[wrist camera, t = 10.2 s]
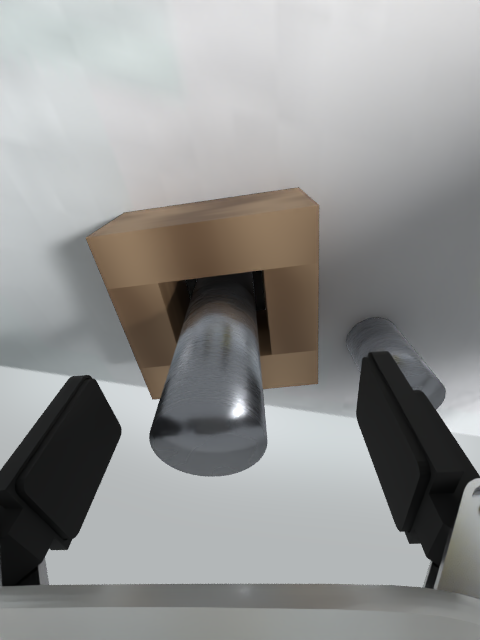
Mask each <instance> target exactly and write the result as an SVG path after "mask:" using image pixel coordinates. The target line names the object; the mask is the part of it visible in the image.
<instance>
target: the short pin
mask: <svg viewBox="0 0 480 640" xmlns="http://www.w3.org/2000/svg"><path fill="white" fill-rule="evenodd" d="M347 347H348V350H349V352H350V354H351V356H352V358H353V359H354V361H355V363H356V365H357V367H358V369H359V371H360V373H361V365H362V358H363V357H367V356H368V353H369V352H378V351H388V352H389V353H390V354H391V355H392V357H393V359H394V360H395V362H396V363H397V365H398V367H399V368H400V370H401V371H402V373H403V375H404V376H405V378H406V379H407V381H408V382H409V384H410V386H411V387H412V389H413V390H421V391H422V392H424V394H425V395H426V396H427V398H428V399H429V401H430V402H431V404H432V405H433V407H434V408H435V410H436V409H437V408H438V407H439V406H440V405H441V404H442V402H443V401H444V398H445V393H446V391H445V388H444V386H443V384H442V383H441V382H440V381H439V379H438V378H437V377H436V376H435V374H434V373H433V372H432V371H431V369H430V368H429V367H428V366H427V365H426V363H425V362H424V361H423V360H422V358H421V357H420V356H419V355H418V354H417V352H416V351H415V350H414V349H413V347H412V346H411V345H410V344H409V342H408V341H407V340H406V339H405V338H404V336H403V335H402V334H401V333H400V331H399V330H398V329H397V328H396V326H395V325H394V324H393V323H392V322H391V321H389V320H387V319H384V318H370V319H367V320H364V321H362V322H360V323H358V324H357V325H356V326H354V327H353V328H352V330H351V331H350V332H349V334H348V337H347Z"/></svg>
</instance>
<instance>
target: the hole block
mask: <svg viewBox="0 0 480 640" xmlns="http://www.w3.org/2000/svg"><path fill="white" fill-rule="evenodd" d="M86 240H87V243H88V245H89V247H90V250H91V252H92V255H93V257H94V259H95V262H96V264H97V267H98V269H99V271H100V274H101V276H102V279H103V281H104V284H105V286H106V288H107V291H108V293H109V296H110V298H111V300H112V303H113V305H114V308H115V310H116V312H117V315H118V317H119V320H120V322H121V325H122V327H123V329H124V332H125V334H126V337H127V339H128V341H129V344H130V346H131V349H132V351H133V354H134V356H135V358H136V361H137V363H138V366H139V368H140V370H141V373H142V375H143V378H144V380H145V382H146V385H147V387H148V390H149V392H150V395H151V397H152V399H160V398H161V394H162V391H163V388H164V385H165V381H166V378H167V375H168V372H169V368H170V365H171V362H172V359H173V355H174V352H175V349H176V346H177V342H178V339H179V336H180V333H181V329H182V326H183V323H184V320H185V316H186V313H187V310H188V307H189V303H190V296H189V293H188V289H187V285H186V281H185V280H187V279H195V278H203V277H211V276H219V275H227V274H235V273H243V272H251V271H259V270H262V279H263V289H264V299H265V308H266V310H257V311H256V317H257V328H258V340H259V351H260V363H261V374H262V386H263V389H269V388H279V387H290V386H300V385H311V384H318V294H319V205H318V204H317V203H316V202H315V201H314V200H313V199H311V198H310V197H309V196H308V195H307V194H306V193H305V192H303V191H302V190H301V189H300V188H299V187H298V188H291V189H285V190H278V191H271V192H264V193H257V194H250V195H243V196H236V197H229V198H222V199H215V200H209V201H202V202H195V203H188V204H181V205H174V206H167V207H160V208H153V209H146V210H139V211H133V212H126V213H123V214H122V215H120V216H119V217H117V218H115V219H114V220H112V221H111V222H109V223H108V224H106V225H105V226H103V227H101V228H100V229H98V230H97V231H95V232H94V233H92V234H91V235H89V236H87V237H86Z"/></svg>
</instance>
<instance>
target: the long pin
mask: <svg viewBox="0 0 480 640" xmlns="http://www.w3.org/2000/svg"><path fill="white" fill-rule="evenodd" d="M149 439H150V444H151V447H152V449H153V451H154V452H155V454H156V455H157V456H158V457H159V458H160V459H161V460H162V461H163V462H165V463H166V464H168V465H169V466H171V467H173V468H175V469H177V470H180V471H182V472H185V473H189V474H193V475H199V476H224V475H230V474H234V473H238V472H241V471H243V470H245V469H247V468H249V467H251V466H252V465H254V464H255V463H256V462H258V461H259V460H260V458H261V457H262V456H263V454H264V453H265V450H266V447H267V432H266V421H265V409H264V397H263V386H262V374H261V363H260V351H259V340H258V328H257V317H256V305H255V294H254V282H253V274H252V271H251V272H243V273H235V274H227V275H219V276H211V277H203V278H197V281H196V284H195V287H194V290H193V294H192V297H191V300H190V303H189V307H188V310H187V313H186V316H185V320H184V323H183V326H182V329H181V333H180V336H179V339H178V342H177V346H176V349H175V352H174V355H173V359H172V362H171V365H170V368H169V372H168V375H167V378H166V381H165V385H164V388H163V391H162V394H161V398H160V401H159V404H158V407H157V411H156V414H155V417H154V420H153V424H152V427H151V430H150V437H149Z"/></svg>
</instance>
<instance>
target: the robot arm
mask: <svg viewBox="0 0 480 640" xmlns="http://www.w3.org/2000/svg"><path fill="white" fill-rule="evenodd" d="M356 415H357V421H358V424H359V427H360V429H361V432H362V435H363V437H364V440H365V443H366V446H367V448H368V451H369V454H370V456H371V459H372V462H373V464H374V467H375V470H376V473H377V475H378V478H379V481H380V484H381V486H382V489H383V492H384V495H385V497H386V500H387V503H388V506H389V508H390V511H391V514H392V516H393V519H394V522H395V524H396V527H397V529H398V530H399V531H400V532H401V531H405V534H406V536H407V539H408V542H409V544H418V543H421V545H422V547H423V550H424V552H425V555H426V557H427V558H428V559H430V560H431V562H430V565H429V568H428V571H427V575H426V578H425V582H424V585H423V588H421V587H408V586H395V585H354V584H120V585H119V584H117V585H116V584H113V585H49V581H48V575H47V568H46V562H45V555H46V553H47V551H48V549H49V548H50V549H51V550H67V549H68V548H69V545H70V543H71V541H72V539H73V538H75V537H76V536H77V534H78V533H79V531H80V529H81V526H82V524H83V522H84V519H85V517H86V515H87V512H88V510H89V508H90V506H91V503H92V501H93V499H94V496H95V494H96V492H97V489H98V487H99V485H100V483H101V480H102V478H103V476H104V473H105V471H106V469H107V466H108V464H109V462H110V459H111V457H112V455H113V452H114V450H115V448H116V446H117V443H118V441H119V439H120V436H121V426H120V424H119V422H118V420H117V418H116V416H115V415H114V413H113V411H112V409H111V407H110V405H109V404H108V402H107V400H106V398H105V396H104V394H103V392H102V391H101V389H100V387H99V385H98V383H97V381H96V380H95V379H92V377H91V376H89V375H84V376H73V377H70V378H69V379H68V381H67V382H66V383H65V385H64V386H63V387H62V389H61V390H60V392H59V393H58V394H57V395H56V397H55V398H54V399H53V401H52V402H51V403H50V405H49V406H48V407H47V409H46V410H45V411H44V413H43V414H42V415H41V417H40V418H39V419H38V421H37V422H36V423H35V425H34V426H33V428H32V429H31V430H30V431H29V433H28V434H27V435H26V437H25V438H24V440H23V441H22V442H21V444H20V445H19V446H18V448H17V449H16V450H15V452H14V453H13V454H12V456H11V457H10V458H9V460H8V461H7V462H6V464H5V465H4V466H3V468H2V469H1V471H0V640H480V476H479V474H478V473H477V471H476V470H475V468H474V467H473V466H472V464H471V462H470V461H469V459H468V458H467V456H466V455H465V453H464V452H463V450H462V449H461V447H460V446H459V444H458V443H457V441H456V440H455V438H454V437H453V435H452V434H451V432H450V431H449V429H448V428H447V426H446V425H445V423H444V422H443V420H442V419H441V417H440V416H439V414H438V413H437V411H436V410H435V408H434V407H433V405H432V404H431V402H430V401H429V399H428V398H427V396H426V395H425V394H424V392H422V391H421V390H413V389H412V387H411V386H410V384H409V382H408V381H407V379H406V378H405V376H404V375H403V373H402V371H401V370H400V368H399V367H398V365H397V363H396V362H395V360H394V359H393V357H392V355H391V354H390V353H389V352H388V351H378V352H369V353H368V356H367V357H363V358H362V365H361V374H360V383H359V392H358V401H357V410H356Z"/></svg>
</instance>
